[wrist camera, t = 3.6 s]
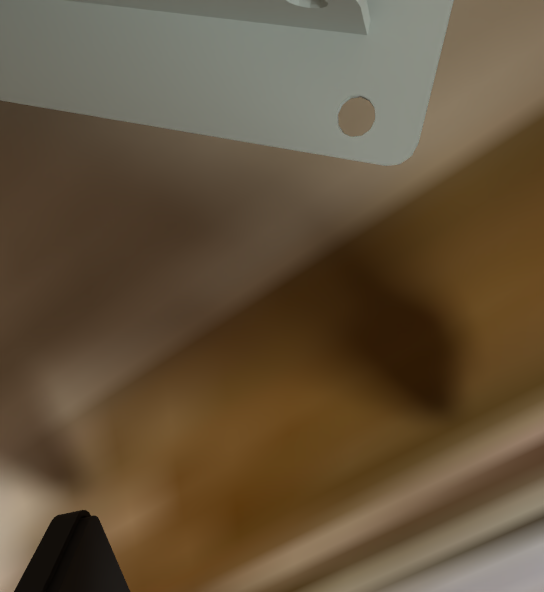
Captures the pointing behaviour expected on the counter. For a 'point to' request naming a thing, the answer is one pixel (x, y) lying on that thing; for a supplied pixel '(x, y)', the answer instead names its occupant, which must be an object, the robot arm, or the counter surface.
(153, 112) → the metal bracket
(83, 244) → the counter surface
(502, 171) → the counter surface
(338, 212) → the counter surface
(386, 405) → the counter surface
